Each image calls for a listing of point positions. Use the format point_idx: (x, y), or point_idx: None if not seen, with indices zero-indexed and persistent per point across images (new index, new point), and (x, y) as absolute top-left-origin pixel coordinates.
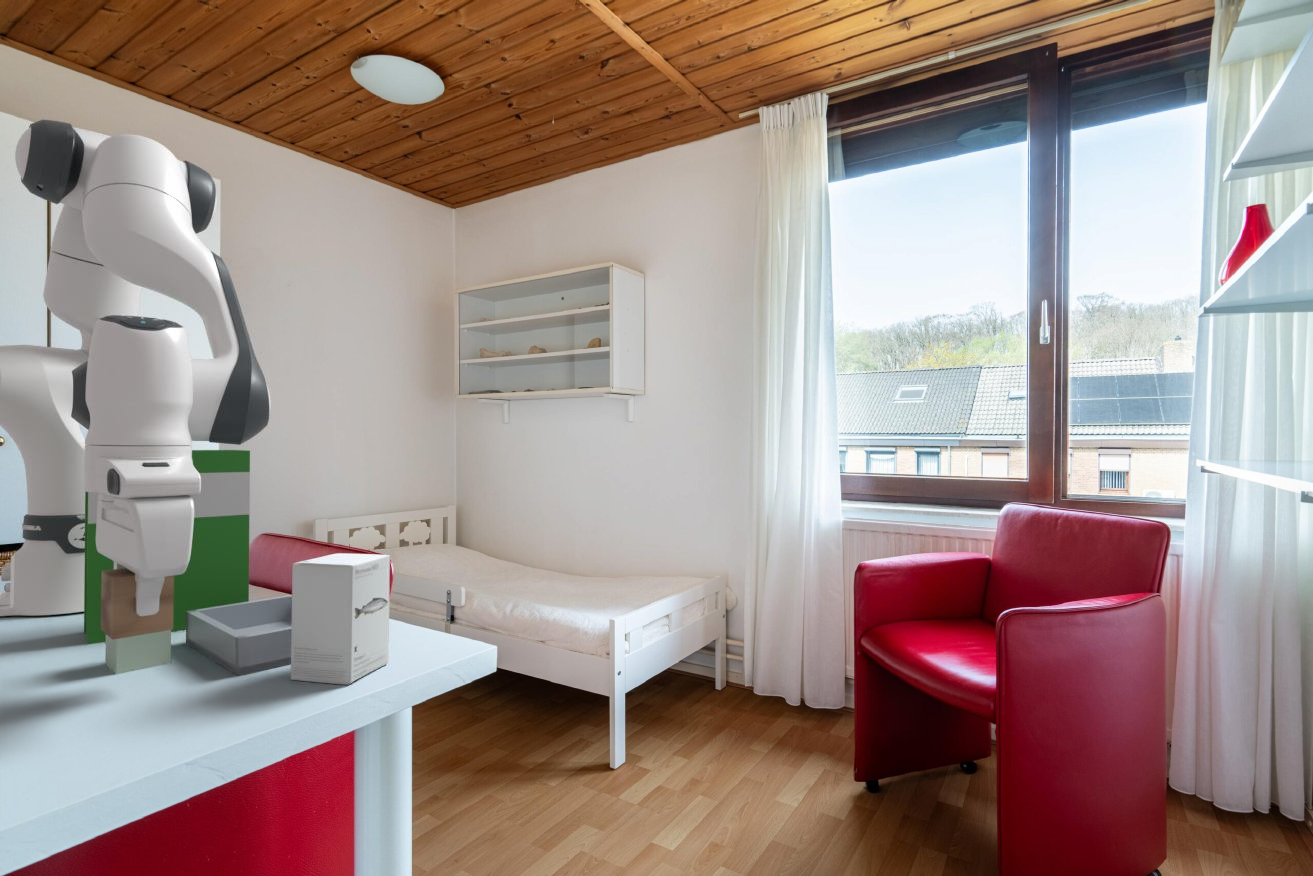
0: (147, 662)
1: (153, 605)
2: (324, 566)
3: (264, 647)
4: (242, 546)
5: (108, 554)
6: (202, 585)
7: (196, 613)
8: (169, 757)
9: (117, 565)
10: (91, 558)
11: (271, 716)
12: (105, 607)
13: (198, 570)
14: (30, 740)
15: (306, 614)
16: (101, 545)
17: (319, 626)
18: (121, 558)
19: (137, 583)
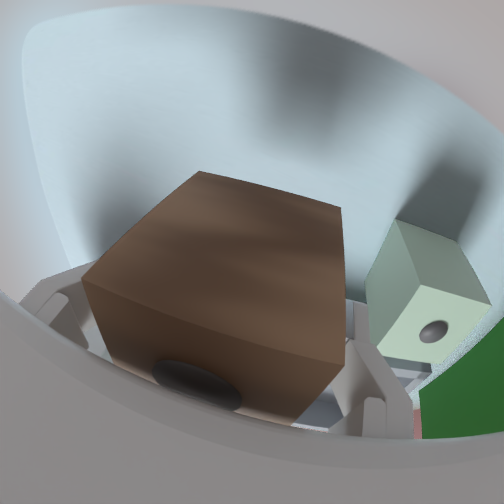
0: (379, 261)
1: None
2: None
3: None
4: None
5: (369, 462)
6: (461, 413)
7: (405, 373)
8: (38, 123)
9: (364, 417)
10: None
11: (67, 217)
12: (270, 229)
13: (467, 430)
14: (167, 21)
15: (91, 346)
16: (482, 474)
17: (88, 335)
18: (56, 376)
19: (49, 283)
